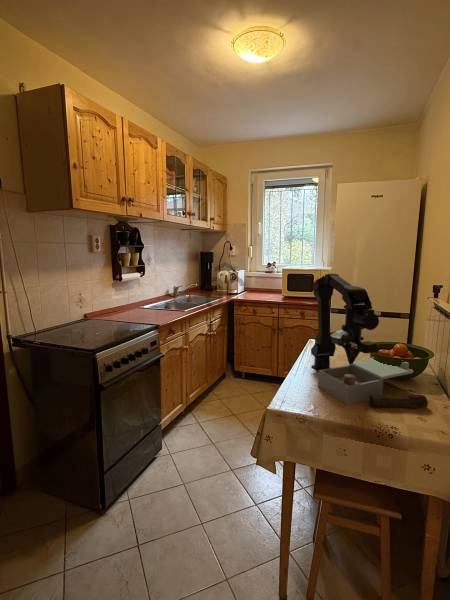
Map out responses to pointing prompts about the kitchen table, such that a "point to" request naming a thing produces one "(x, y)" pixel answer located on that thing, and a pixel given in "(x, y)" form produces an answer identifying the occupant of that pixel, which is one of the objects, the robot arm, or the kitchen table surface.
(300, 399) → the kitchen table surface
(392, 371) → the lid
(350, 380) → the peg
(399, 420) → the kitchen table surface
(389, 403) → the dark brown rough bar
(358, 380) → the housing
